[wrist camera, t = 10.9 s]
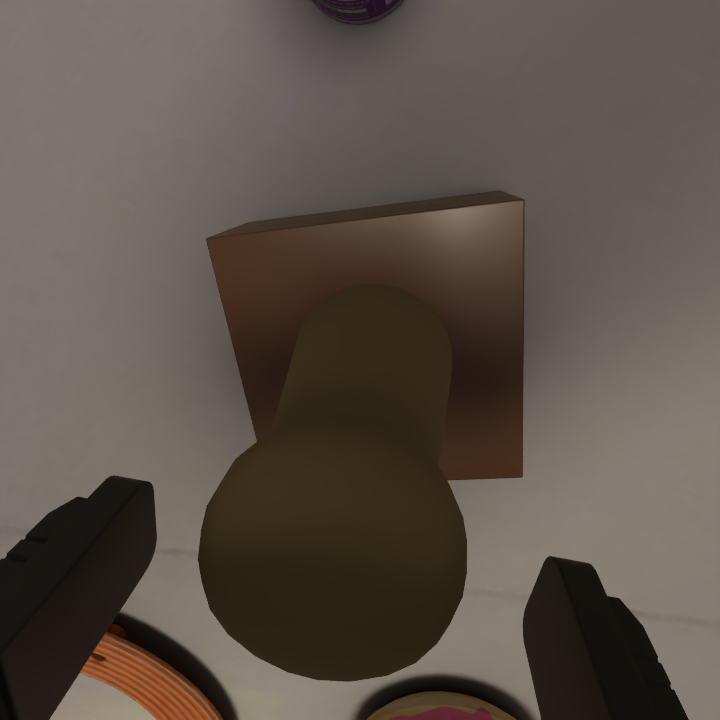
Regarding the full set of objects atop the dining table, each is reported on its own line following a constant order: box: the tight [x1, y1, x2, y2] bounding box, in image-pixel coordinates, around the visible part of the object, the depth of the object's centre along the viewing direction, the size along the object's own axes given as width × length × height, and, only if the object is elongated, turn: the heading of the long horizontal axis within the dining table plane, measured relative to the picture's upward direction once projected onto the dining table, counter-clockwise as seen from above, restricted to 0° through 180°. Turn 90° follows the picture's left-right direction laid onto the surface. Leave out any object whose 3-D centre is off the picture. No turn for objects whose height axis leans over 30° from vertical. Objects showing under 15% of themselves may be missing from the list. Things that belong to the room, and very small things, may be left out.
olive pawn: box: [198, 284, 467, 682], centre depth 13 cm, size 6×6×11 cm
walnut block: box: [206, 191, 525, 480], centre depth 20 cm, size 11×11×4 cm
